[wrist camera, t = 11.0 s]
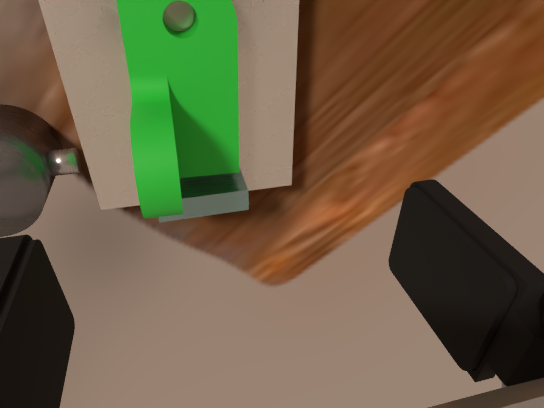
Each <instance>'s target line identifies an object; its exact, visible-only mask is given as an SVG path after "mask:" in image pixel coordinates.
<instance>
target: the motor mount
mask: <svg viewBox="0 0 544 408" xmlns="http://www.w3.org/2000/svg"><path fill="white" fill-rule="evenodd" d="M231 1H232V3H233V6H234V8H235V12H236V16H237V25H238V105H239V173H229V174H219V175H208V176H198V177H187V178H179V179H180V188H181V197H182V206H183V214H180V215H171V216H163V217H158V218H159V222H166V221H173V220H180V219H187V218H194V217H201V216H208V215H215V214H222V213H229V212H236V211H243V210H249V196H248V191H250V190H258V189H265V188H273V187H281V186H288V185H292V162H293V138H294V114H295V90H296V67H297V43H298V19H299V0H231ZM39 4H40V7H41V10H42V14H43V17H44V20H45V24H46V27H47V31H48V34H49V37H50V41H51V44H52V48H53V51H54V54H55V58H56V61H57V64H58V68H59V71H60V75H61V78H62V81H63V85H64V88H65V91H66V95H67V98H68V102H69V105H70V108H71V112H72V115H73V119H74V122H75V125H76V129H77V132H78V135H79V139H80V142H81V146H82V149H83V152H84V156H85V159H86V162H87V166H88V169H89V173H90V176H91V179H92V183H93V186H94V190H95V193H96V196H97V200H98V203H99V206H100V210H106V209H114V208H122V207H129V206H137V205H140V203H139V198H138V193H137V187H136V181H135V174H134V166H133V157H132V148H131V134H130V116H131V106H132V97H131V87H130V79H129V73H128V67H127V61H126V55H125V49H124V43H123V37H122V31H121V25H120V19H119V13H118V7H117V1H116V0H39ZM194 17H195V14H194V9H193V7H192V6H191V5H190V4H188V3H187V2H184V1H174V2H172V3H170V4H169V5H168V6H167V7H166V8H165V10H164V13H163V20H164V22H165V24H166V25H167V26H168V27H169V28H171V29H172V30H175V31H184V30H187V29H188V28H189V27H190V26H191V25H192V24H193V21H194ZM80 172H81V161H80V156H79V153H78V151H77V149H76V148H69V149H62V147H61V143H60V141H59V138H58V137H57V135H56V133H55V132H54V130H53V129H52V128H51V127H50V126H49V125H48V124H47V123H46V122H45V121H44V120H43V119H41V118H40V117H38V116H37V115H35V114H33V113H32V112H30V111H27V110H25V109H22V108H19V107H15V106H10V105H0V237H3V236H8V235H12V234H16V233H18V232H21V231H23V230H25V229H27V228H28V227H30V226H31V225H32V224H33V223H34V222H35V221H36V220H37V219H38V217H39V216H40V214H41V212H42V210H43V207H44V204H45V202H46V199H47V197H48V194H49V192H50V189H51V186H52V183H53V181H54V179H55V176H56V175H65V174H74V173H80Z"/></svg>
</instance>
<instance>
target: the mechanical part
mask: <svg viewBox="0 0 544 408" xmlns="http://www.w3.org/2000/svg"><path fill="white" fill-rule="evenodd" d="M116 1H117V7H118V13H119V19H120V25H121V31H122V37H123V43H124V49H125V55H126V61H127V67H128V73H129V79H130V87H131V97H132V106H131V116H130V134H131V148H132V157H133V166H134V174H135V181H136V187H137V193H138V198H139V203H140V207H141V211H142V215H143V217H144V218H154V217H163V216H171V215H180V214H183V206H182V197H181V188H180V179H179V178H187V177H198V176H208V175H219V174H229V173H239V105H238V25H237V16H236V12H235V8H234V6H233V3H232V1H231V0H116ZM174 1H184V2H187V3H188V4H190V5H191V6H192V7H193V9H194V14H195V17H194V21H193V24H192V25H191V26H190V27H189V28H188V29H187V30H184V31H175V30H172V29H171V28H169V27H168V26H167V25H166V24H165V22H164V20H163V13H164V10H165V8H166V7H167V6H168V5H169V4H170V3H172V2H174Z"/></svg>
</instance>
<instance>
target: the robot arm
mask: <svg viewBox="0 0 544 408" xmlns="http://www.w3.org/2000/svg"><path fill="white" fill-rule="evenodd" d="M389 267H390V270H391V271H392V273H393V274H394V276H395V277H396V279H397V280H398V281H399V283H400V284H401V286H402V287H403V288H404V290H405V291H406V293H407V294H408V295H409V297H410V298H411V300H412V301H413V303H414V304H415V305H416V307H417V308H418V310H419V311H420V313H421V314H422V315H423V317H424V318H425V319H426V321H427V322H428V324H429V325H430V327H431V328H432V329H433V331H434V332H435V334H436V335H437V336H438V338H439V339H440V340H441V342H442V344H443V345H444V346H445V348H446V349H447V351H448V352H449V353H450V355H451V356H452V358H453V359H454V360H455V362H456V363H457V365H458V366H459V367H460V368H461V369H462V370H465V371H467V372H468V373H469V374H470V376H471V377H472V379H473V380H474V381H475V382H478V381H482V380H486V379H489V378H493V377H494V376H495V374H496V375H497V376H498V377H499V379H500V380H501V381H502V388H500V389H496V390H493V391H489V392H485V393H481V394H478V395H474V396H470V397H466V398H463V399H459V400H455V401H451V402H448V403H444V404H440V405H436V406H432V407H429V408H544V273H542V272H541V271H540V270H539V269H538V268H536V266H534V265H533V264H532V263H531V262H530V261H529V260H527V259H526V258H525V257H524V256H523V255H522V254H520V253H519V252H518V251H517V250H516V249H515V248H514V247H512V246H511V245H510V244H509V243H508V242H507V241H506V240H504V239H503V238H502V237H501V236H500V235H499V234H498V233H496V232H495V231H494V230H493V229H492V228H491V227H489V226H488V225H487V224H486V223H485V222H484V221H482V220H481V219H480V218H479V217H478V216H477V215H476V214H474V213H473V212H472V211H471V210H470V209H469V208H467V207H466V206H465V205H464V204H463V203H462V202H460V201H459V200H458V199H457V198H456V197H455V196H454V195H452V194H451V193H450V192H449V191H448V190H447V189H446V188H444V187H443V186H442V185H441V184H440V183H439V182H437V181H436V180H425V181H418V182H414V183H412V184H411V185H410V188H408V189H407V190H406V191H405V194H404V198H403V202H402V207H401V211H400V215H399V219H398V223H397V228H396V231H395V236H394V240H393V244H392V248H391V252H390V256H389ZM74 326H75V325H74V317H73V315H72V312H71V310H70V308H69V305H68V303H67V301H66V298H65V296H64V293H63V291H62V289H61V286H60V284H59V282H58V279H57V277H56V275H55V272H54V270H53V268H52V265H51V263H50V261H49V258H48V256H47V254H46V251H45V249H44V247H43V244H42V242H41V241H40V240H32V238H31V237H30V236H29V235H21V236H13V237H6V238H0V408H59V407H60V402H61V396H62V392H63V386H64V381H65V376H66V371H67V366H68V361H69V356H70V350H71V345H72V340H73V335H74V329H75V327H74Z"/></svg>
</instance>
